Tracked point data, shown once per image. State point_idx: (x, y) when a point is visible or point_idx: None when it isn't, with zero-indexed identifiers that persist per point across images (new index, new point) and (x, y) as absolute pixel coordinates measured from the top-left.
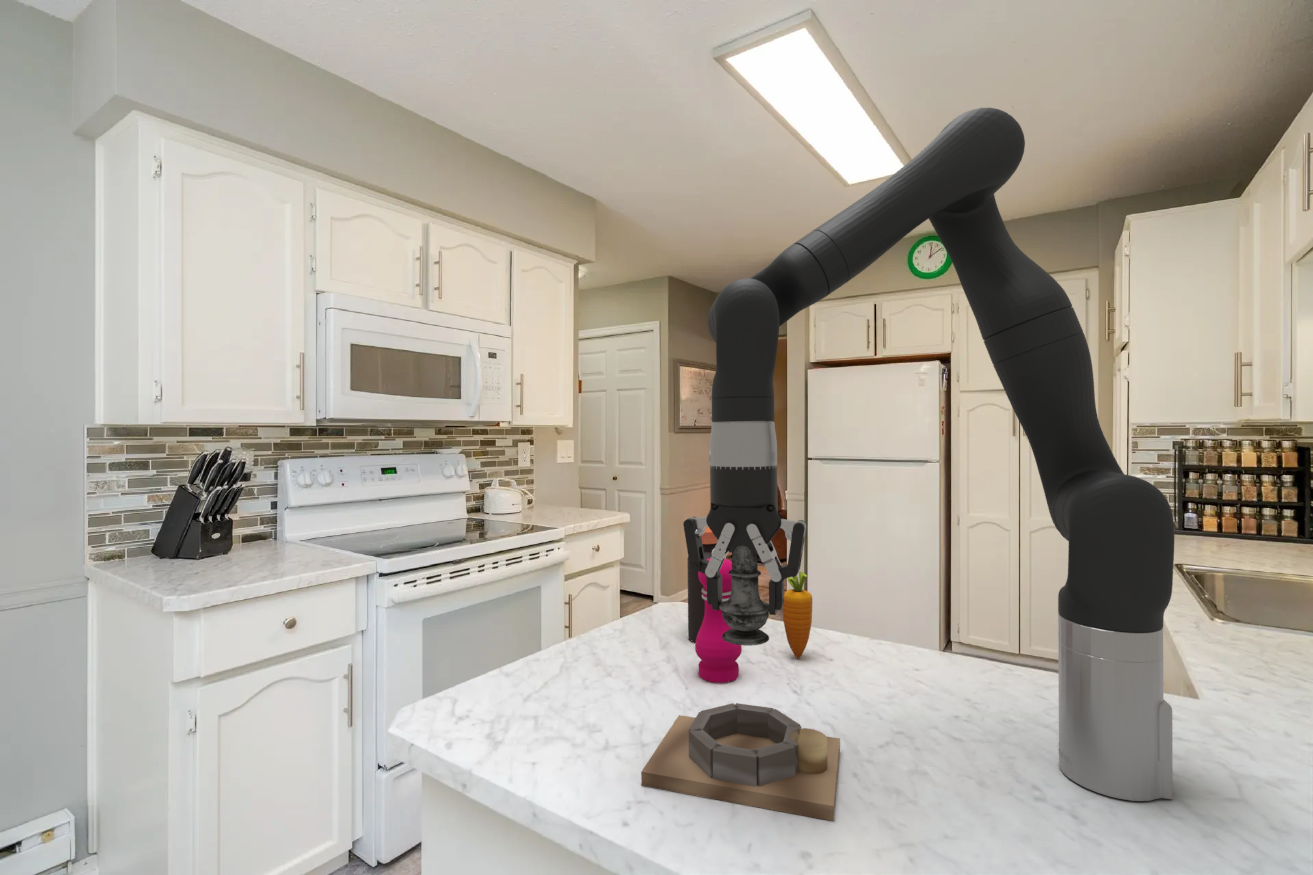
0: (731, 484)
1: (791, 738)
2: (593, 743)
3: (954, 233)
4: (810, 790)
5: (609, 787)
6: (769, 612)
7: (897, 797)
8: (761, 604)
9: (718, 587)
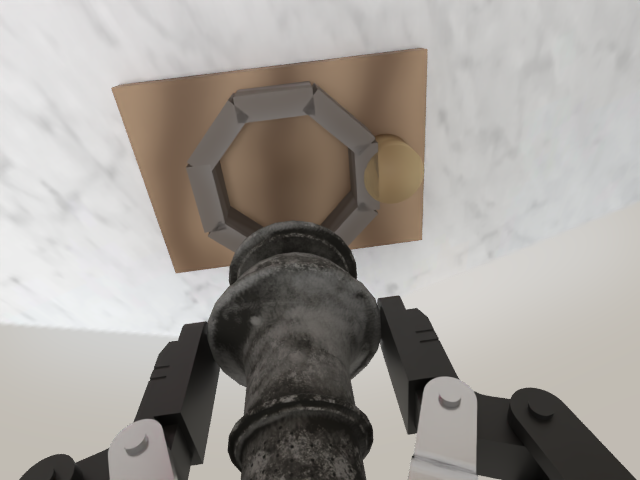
0: None
1: (368, 191)
2: (37, 203)
3: None
4: (392, 221)
5: (147, 281)
6: (381, 346)
7: (494, 151)
8: (356, 350)
9: (206, 422)
